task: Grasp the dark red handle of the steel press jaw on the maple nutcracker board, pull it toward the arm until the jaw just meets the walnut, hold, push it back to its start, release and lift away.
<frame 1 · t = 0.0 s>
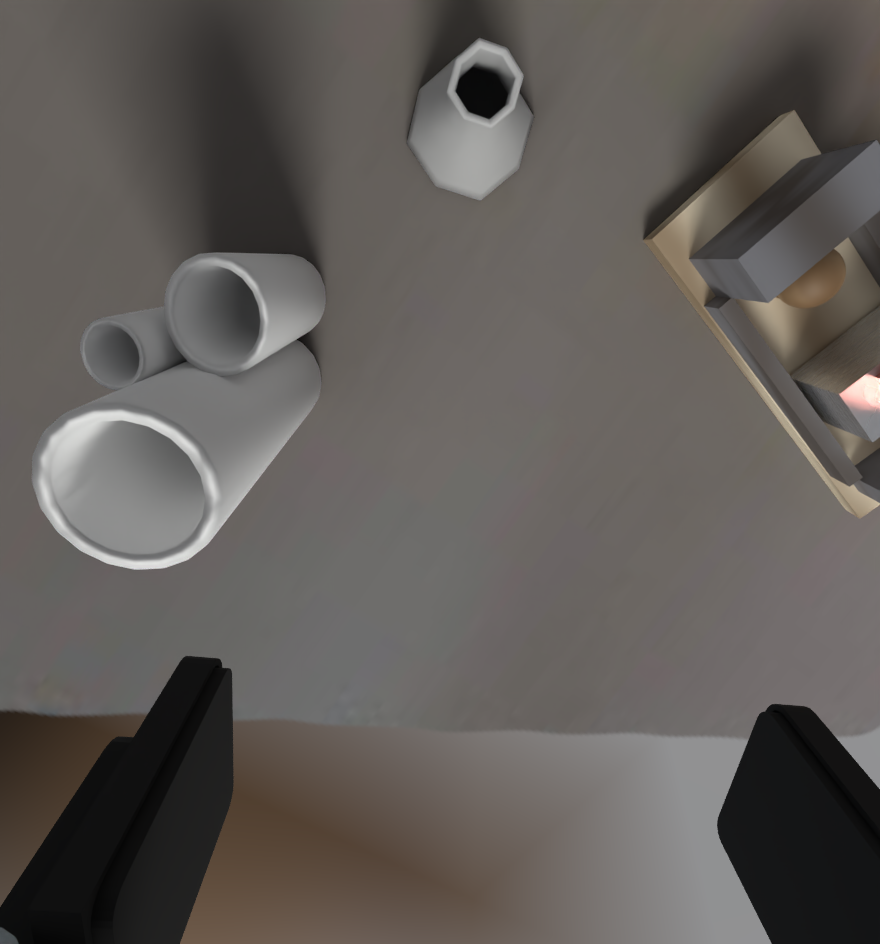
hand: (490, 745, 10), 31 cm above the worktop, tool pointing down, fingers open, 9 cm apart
flask: (469, 132, 34), on the worktop
walnut: (787, 275, 36), point 1 cm above the worktop, touching cracker board
cracker board: (816, 336, 39), on the worktop
vase: (270, 341, 38), on the worktop
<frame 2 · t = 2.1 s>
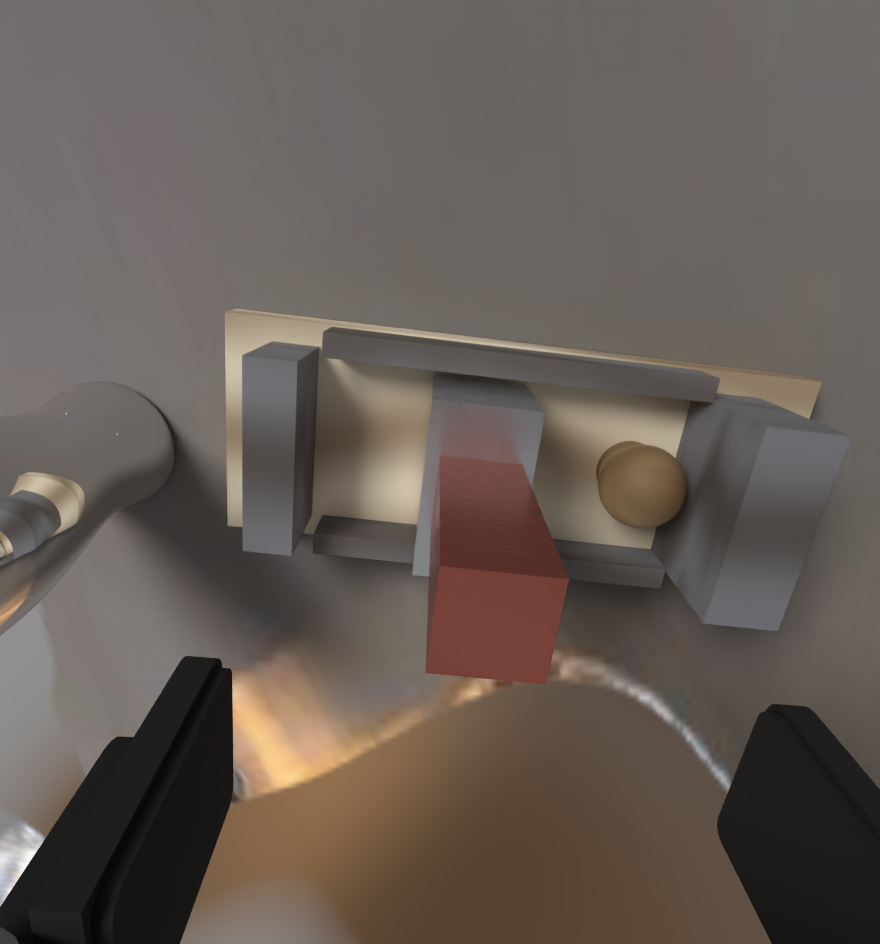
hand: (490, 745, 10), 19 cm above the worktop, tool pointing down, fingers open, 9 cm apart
walnut: (626, 469, 27), point 1 cm above the worktop, touching cracker board
press jaw: (477, 514, 20), point 8 cm above the worktop, slide at 0.0 cm
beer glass: (114, 442, 28), on the worktop
cracker board: (507, 447, 28), on the worktop
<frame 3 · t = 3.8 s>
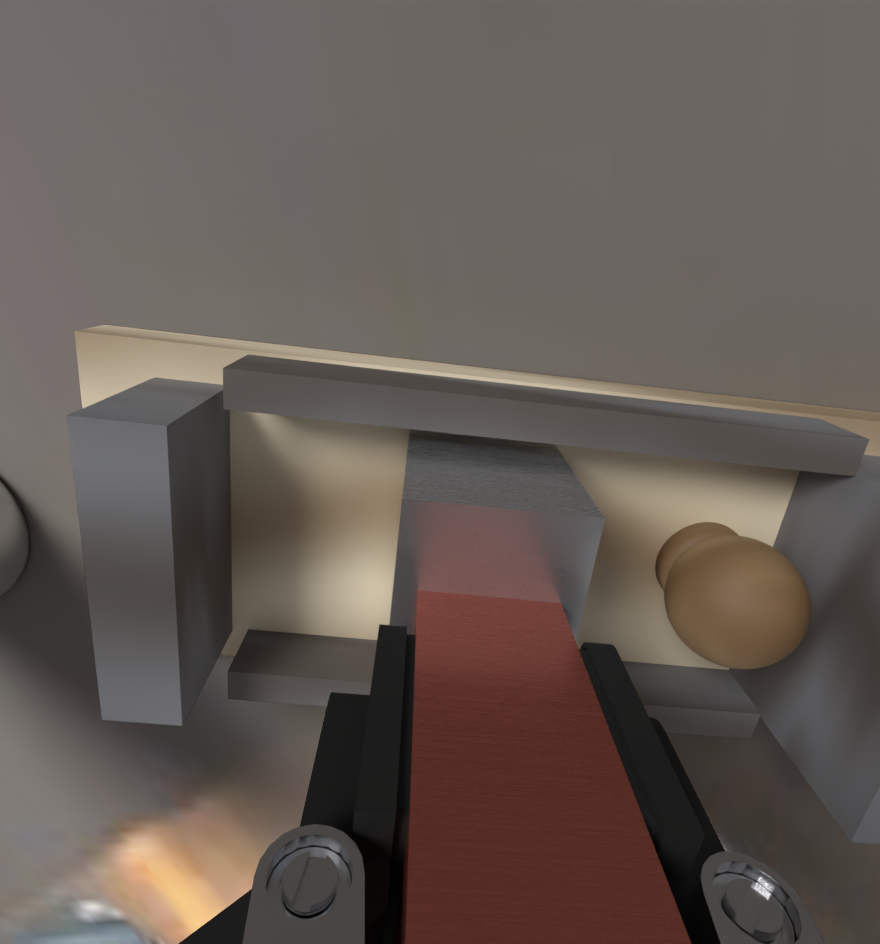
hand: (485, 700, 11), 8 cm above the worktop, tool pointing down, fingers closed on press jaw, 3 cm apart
walnut: (700, 562, 18), point 1 cm above the worktop, touching cracker board
press jaw: (486, 707, 11), point 8 cm above the worktop, slide at 0.0 cm, touching gripper
cracker board: (521, 525, 19), on the worktop
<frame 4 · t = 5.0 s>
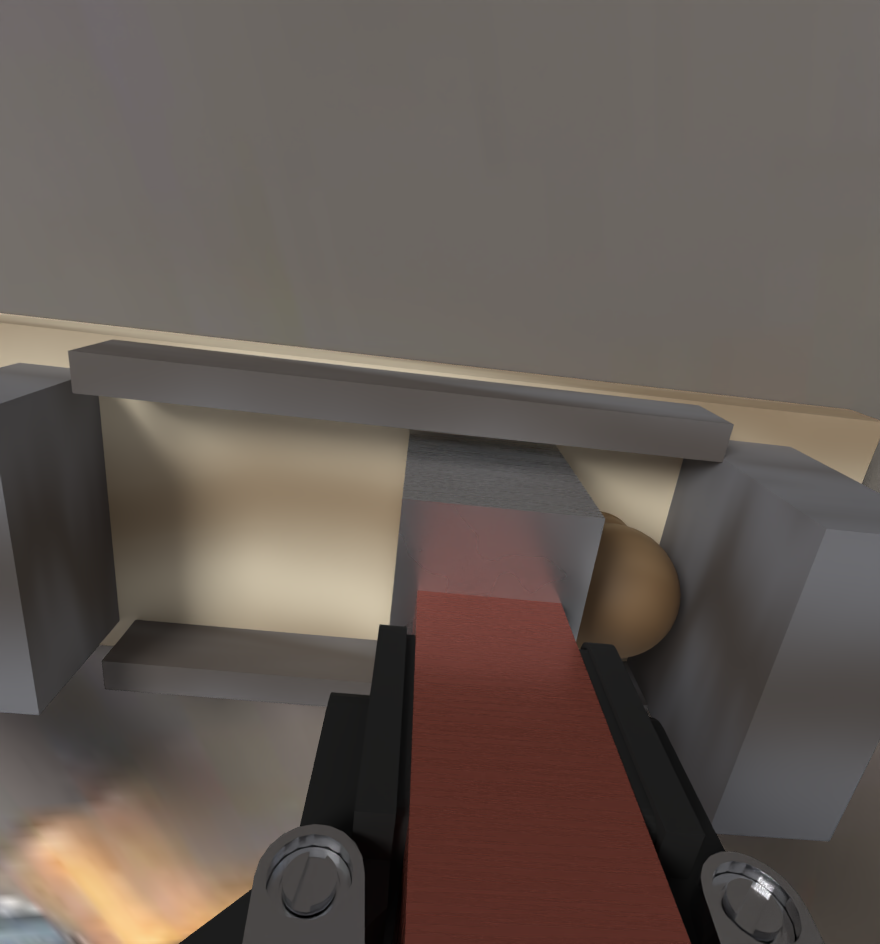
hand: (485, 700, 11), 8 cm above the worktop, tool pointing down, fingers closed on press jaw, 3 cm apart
walnut: (589, 552, 18), point 1 cm above the worktop, touching cracker board
press jaw: (486, 707, 11), point 8 cm above the worktop, slide at 3.5 cm, touching gripper
cracker board: (415, 514, 19), on the worktop
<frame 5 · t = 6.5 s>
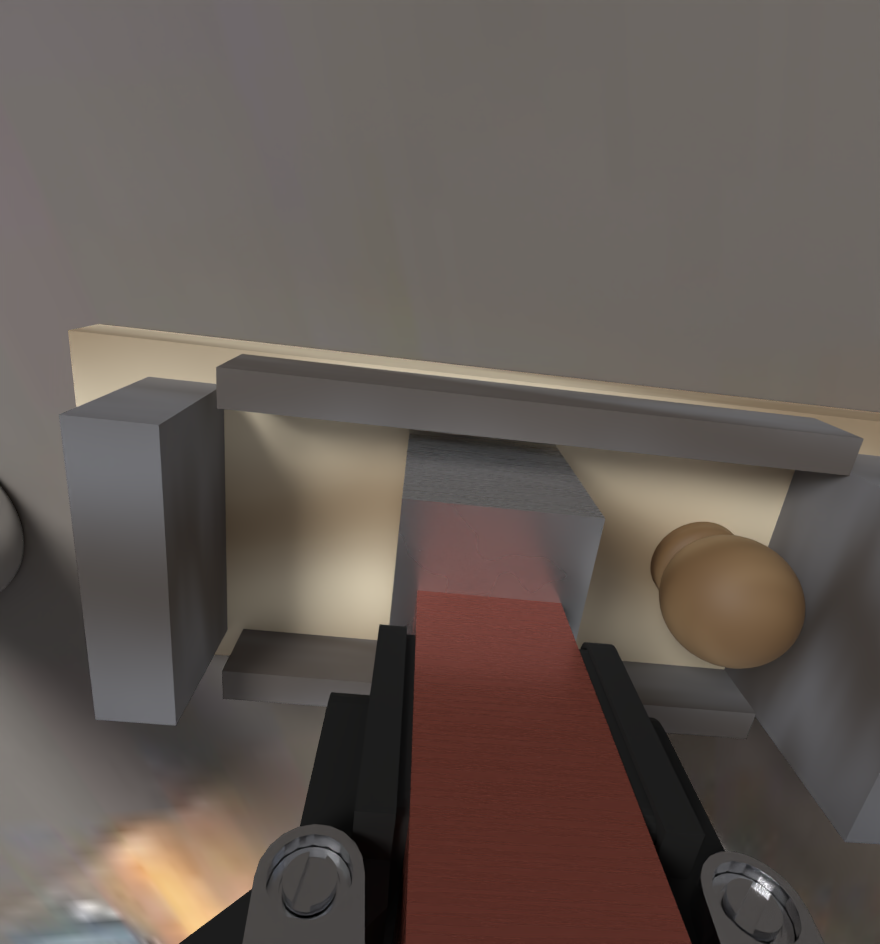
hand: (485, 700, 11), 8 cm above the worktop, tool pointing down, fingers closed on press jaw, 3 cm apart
walnut: (695, 562, 18), point 1 cm above the worktop, touching cracker board
press jaw: (486, 707, 11), point 8 cm above the worktop, slide at 0.2 cm, touching gripper
cracker board: (517, 524, 19), on the worktop
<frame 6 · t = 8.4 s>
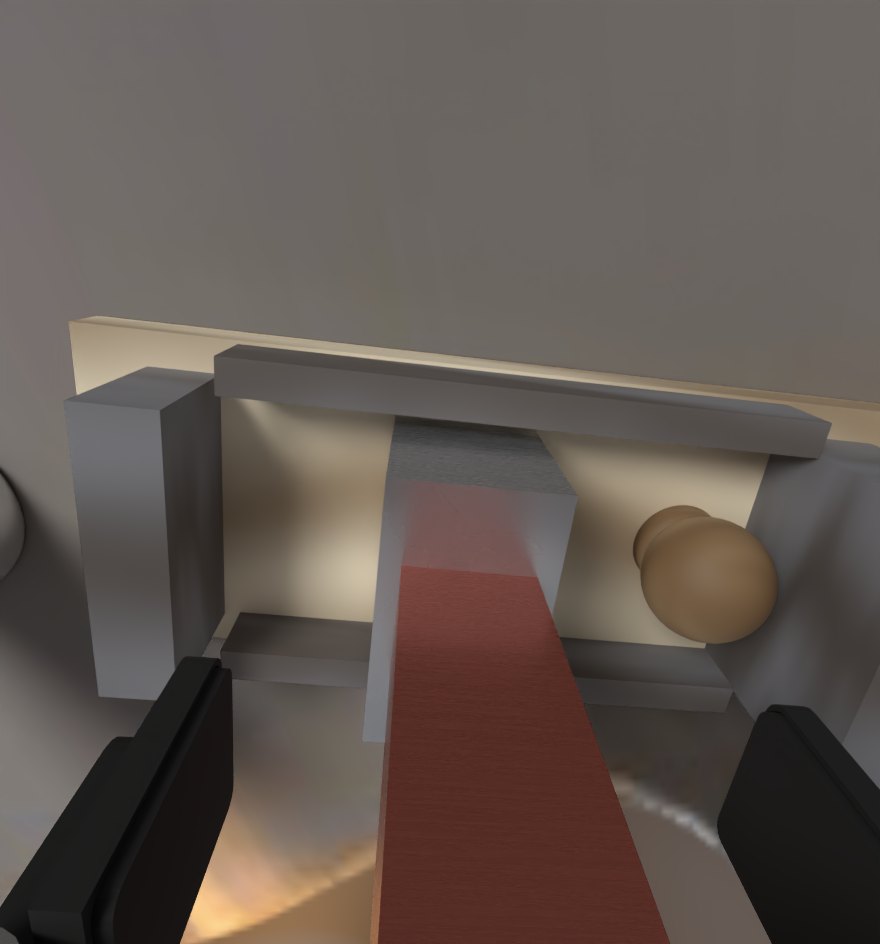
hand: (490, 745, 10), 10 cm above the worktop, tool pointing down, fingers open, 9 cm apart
walnut: (675, 544, 19), point 1 cm above the worktop, touching cracker board
press jaw: (466, 674, 12), point 8 cm above the worktop, slide at 0.0 cm
cracker board: (505, 509, 20), on the worktop
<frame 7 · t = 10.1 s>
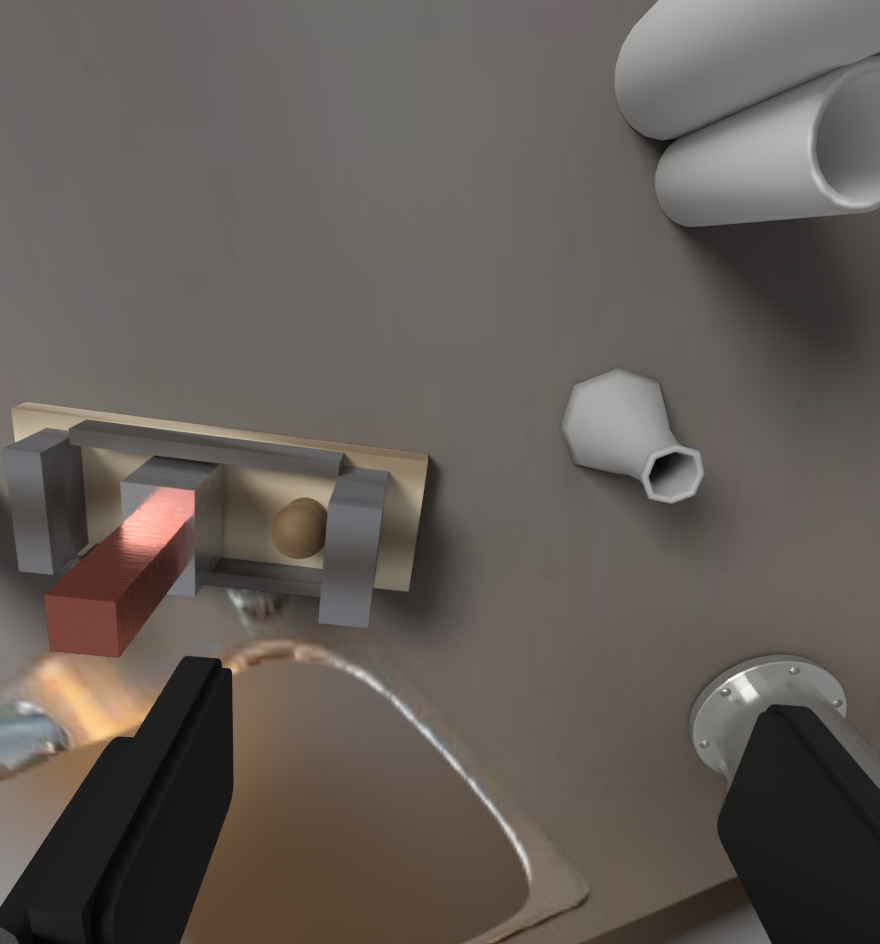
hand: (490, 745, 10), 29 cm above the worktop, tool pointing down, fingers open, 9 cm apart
flask: (612, 420, 39), on the worktop
walnut: (306, 516, 39), point 1 cm above the worktop, touching cracker board
press jaw: (147, 554, 32), point 8 cm above the worktop, slide at 0.0 cm
cracker board: (231, 497, 40), on the worktop
vase: (693, 115, 32), on the worktop
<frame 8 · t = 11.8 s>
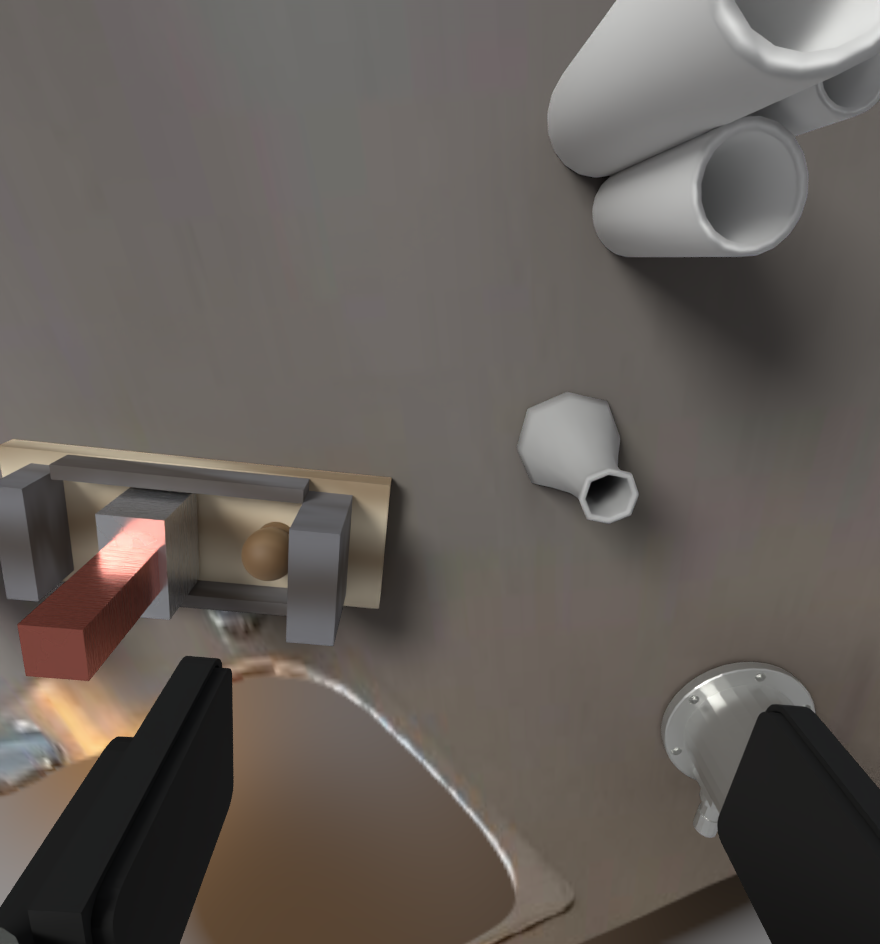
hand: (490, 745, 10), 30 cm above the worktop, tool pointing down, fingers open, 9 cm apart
flask: (566, 440, 40), on the worktop
walnut: (277, 539, 41), point 1 cm above the worktop, touching cracker board
press jaw: (121, 581, 34), point 8 cm above the worktop, slide at 0.0 cm
cracker board: (207, 523, 42), on the worktop
vase: (625, 153, 34), on the worktop
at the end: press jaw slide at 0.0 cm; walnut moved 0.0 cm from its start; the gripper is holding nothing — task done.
